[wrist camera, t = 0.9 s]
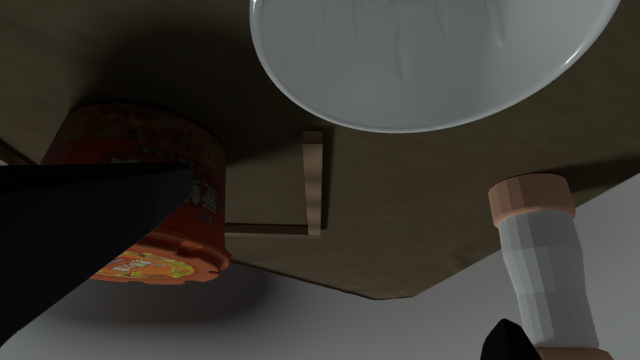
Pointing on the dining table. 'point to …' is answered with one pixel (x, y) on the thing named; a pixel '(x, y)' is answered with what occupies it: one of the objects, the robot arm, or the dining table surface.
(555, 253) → the pepper shaker
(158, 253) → the food container
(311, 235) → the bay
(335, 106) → the white cup
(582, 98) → the dining table surface
